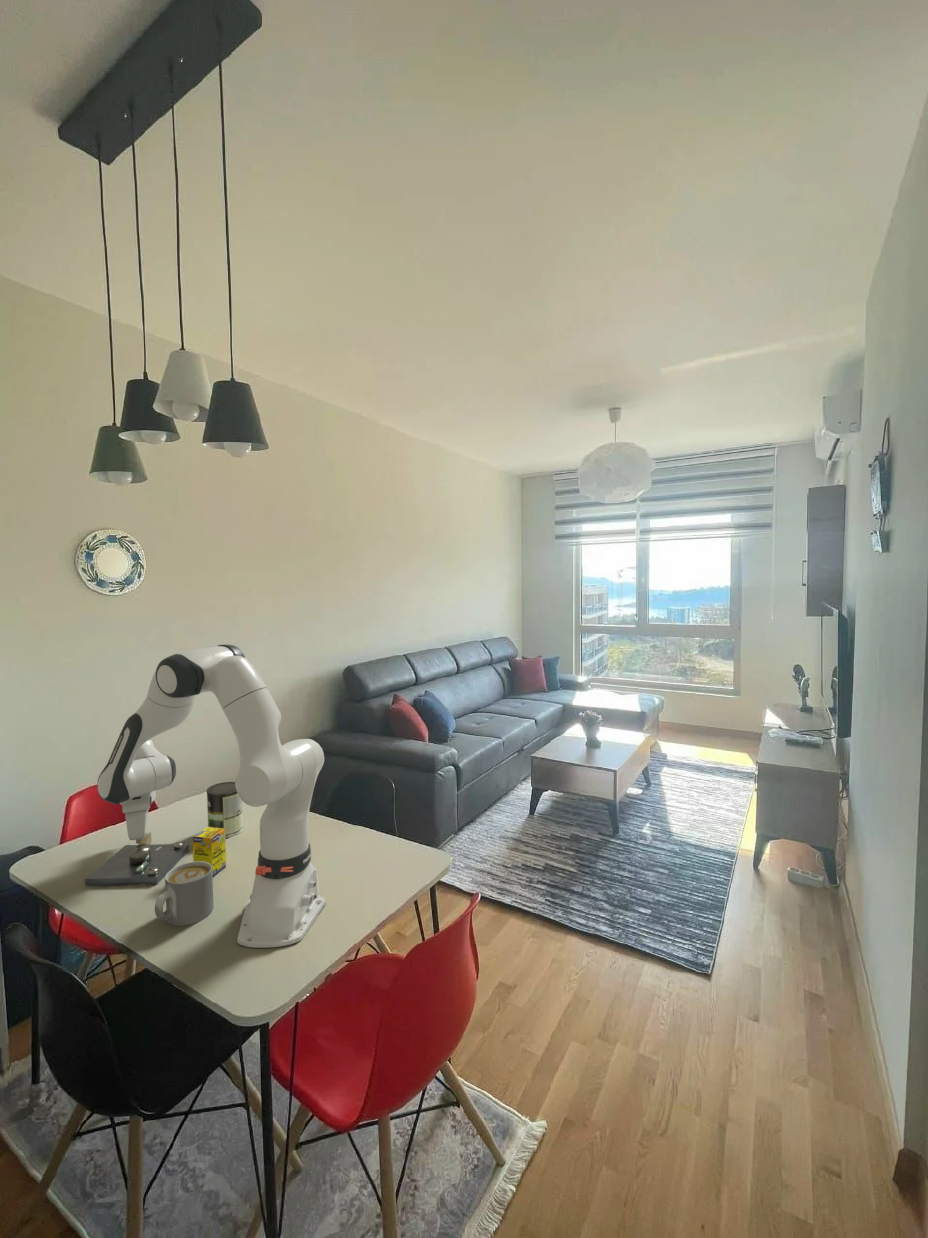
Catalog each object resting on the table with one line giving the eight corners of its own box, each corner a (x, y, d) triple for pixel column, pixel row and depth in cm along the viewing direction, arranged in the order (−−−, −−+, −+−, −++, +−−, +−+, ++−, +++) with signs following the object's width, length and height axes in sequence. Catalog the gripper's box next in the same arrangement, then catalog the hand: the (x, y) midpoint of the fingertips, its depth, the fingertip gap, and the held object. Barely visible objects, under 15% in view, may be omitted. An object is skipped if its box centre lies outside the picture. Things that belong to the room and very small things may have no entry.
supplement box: (212, 878, 143) (211, 838, 142) (192, 876, 144) (191, 836, 143) (226, 866, 149) (225, 828, 148) (207, 864, 150) (206, 826, 149)
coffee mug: (199, 896, 135) (198, 857, 134) (221, 909, 129) (220, 869, 128) (142, 923, 124) (141, 881, 123) (164, 939, 118) (162, 895, 118)
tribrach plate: (157, 884, 140) (156, 872, 140) (85, 886, 139) (84, 874, 139) (189, 850, 158) (188, 839, 158) (125, 852, 157) (125, 841, 157)
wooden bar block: (148, 862, 147) (148, 851, 146) (127, 865, 145) (127, 854, 145) (157, 841, 158) (157, 831, 158) (138, 844, 157) (137, 833, 157)
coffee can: (205, 841, 164) (203, 795, 163) (210, 826, 173) (209, 783, 172) (242, 836, 167) (240, 791, 166) (244, 822, 176) (243, 780, 176)
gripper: (128, 784, 162) (130, 829, 163) (121, 810, 144) (123, 860, 145) (152, 781, 165) (154, 824, 166) (149, 805, 147) (150, 854, 148)
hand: (139, 841), depth 156 cm, fingers closed, pressing on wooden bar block
